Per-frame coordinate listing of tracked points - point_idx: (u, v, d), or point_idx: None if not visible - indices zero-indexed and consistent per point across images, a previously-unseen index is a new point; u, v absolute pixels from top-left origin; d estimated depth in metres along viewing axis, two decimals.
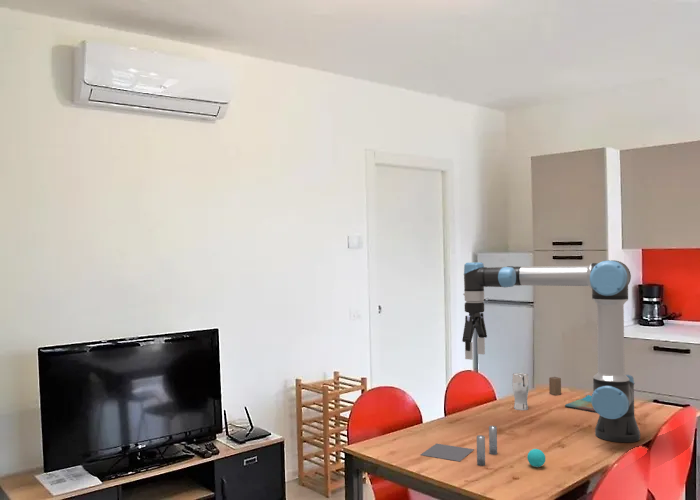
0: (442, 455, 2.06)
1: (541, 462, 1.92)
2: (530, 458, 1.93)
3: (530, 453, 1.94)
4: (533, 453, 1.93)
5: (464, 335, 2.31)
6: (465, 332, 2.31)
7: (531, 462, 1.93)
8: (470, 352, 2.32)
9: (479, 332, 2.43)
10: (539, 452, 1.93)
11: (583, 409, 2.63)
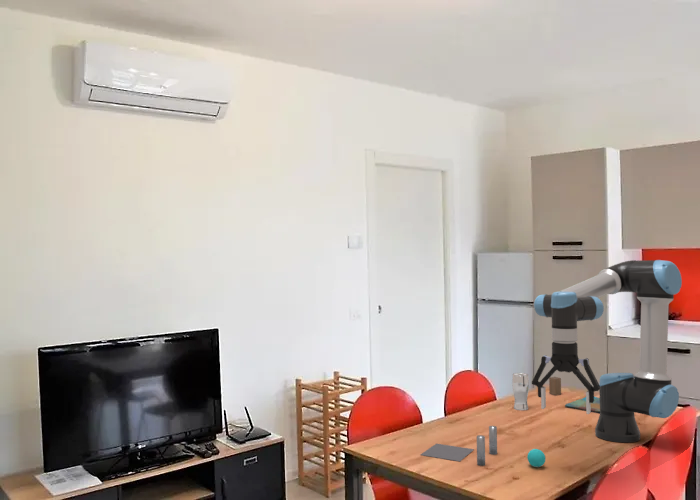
0: (442, 455, 2.06)
1: (541, 462, 1.92)
2: (530, 458, 1.93)
3: (530, 453, 1.94)
4: (533, 453, 1.93)
5: None
6: None
7: (531, 462, 1.93)
8: None
9: None
10: (539, 452, 1.93)
11: (583, 409, 2.63)
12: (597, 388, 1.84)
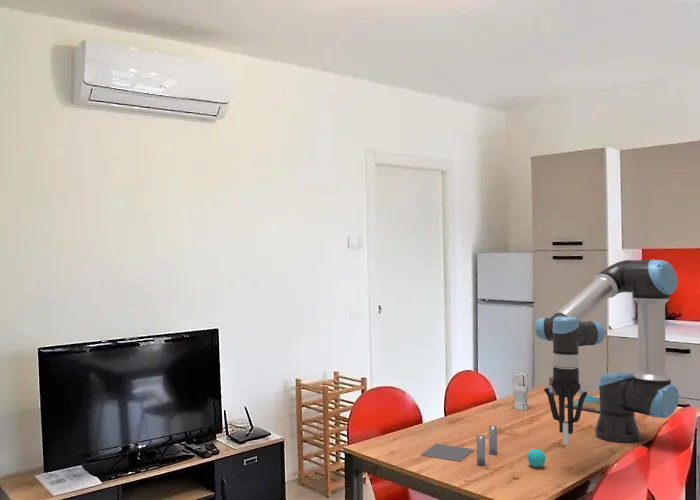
0: (442, 455, 2.06)
1: (541, 462, 1.92)
2: (530, 458, 1.93)
3: (530, 453, 1.94)
4: (533, 453, 1.93)
5: None
6: None
7: (531, 462, 1.93)
8: None
9: None
10: (539, 452, 1.93)
11: (583, 409, 2.63)
12: (576, 420, 1.87)
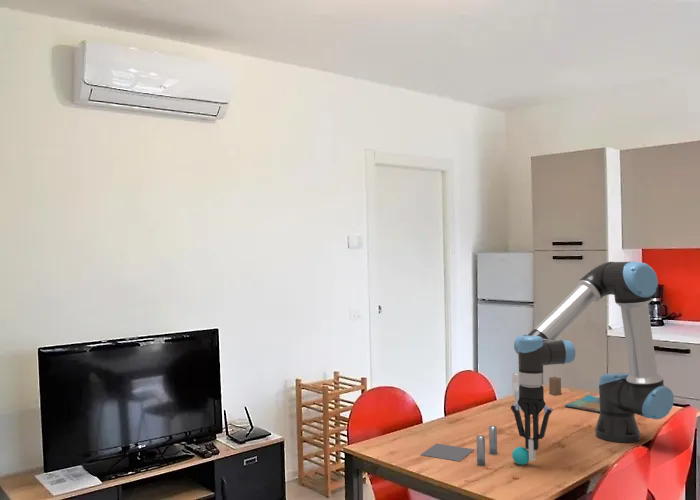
0: (442, 455, 2.06)
1: (522, 452, 1.95)
2: (517, 461, 1.95)
3: (514, 460, 1.96)
4: (513, 456, 1.96)
5: None
6: None
7: (522, 462, 1.94)
8: None
9: None
10: (514, 451, 1.97)
11: (583, 409, 2.63)
12: (541, 437, 1.92)
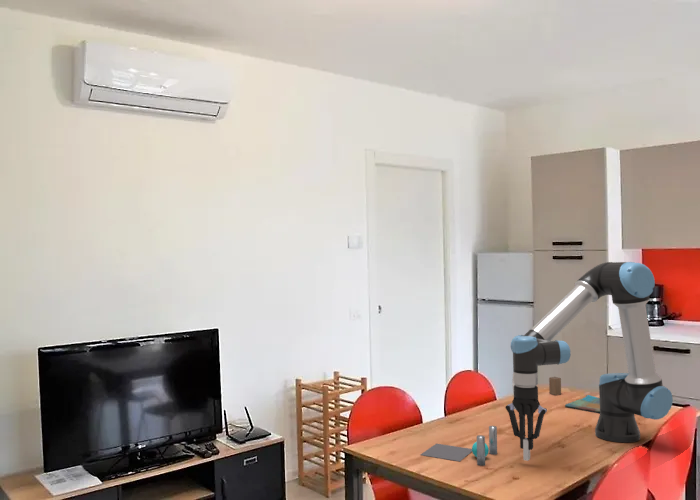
0: (442, 455, 2.06)
1: None
2: (474, 450, 2.02)
3: (474, 445, 2.03)
4: (476, 445, 2.02)
5: None
6: None
7: (475, 454, 2.02)
8: None
9: None
10: None
11: (583, 409, 2.63)
12: (535, 437, 1.93)
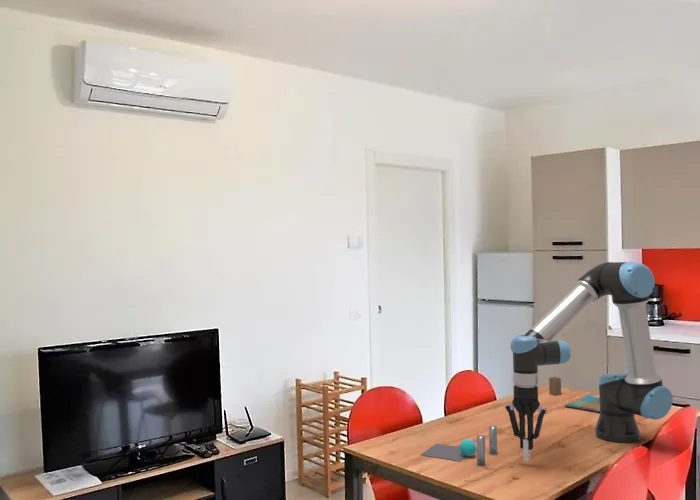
0: (442, 455, 2.06)
1: (467, 443, 2.04)
2: (465, 453, 2.04)
3: None
4: (460, 449, 2.05)
5: None
6: None
7: (468, 453, 2.03)
8: None
9: None
10: (460, 444, 2.06)
11: (583, 409, 2.63)
12: (535, 437, 1.93)
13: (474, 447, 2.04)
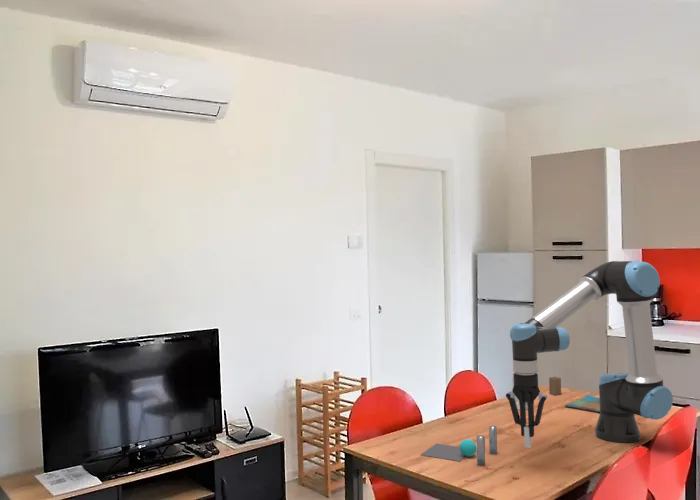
0: (442, 455, 2.06)
1: (467, 443, 2.04)
2: (465, 453, 2.04)
3: None
4: (460, 449, 2.05)
5: None
6: None
7: (468, 453, 2.03)
8: None
9: None
10: (460, 444, 2.06)
11: (583, 409, 2.63)
12: (536, 424, 1.94)
13: (474, 447, 2.04)
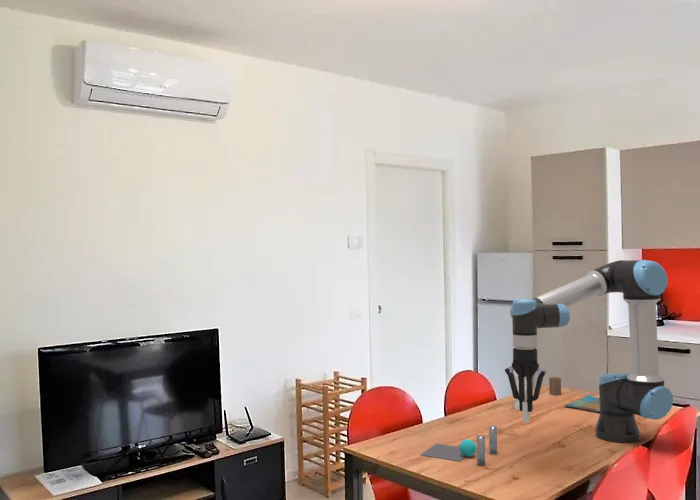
0: (442, 455, 2.06)
1: (467, 443, 2.04)
2: (465, 453, 2.04)
3: None
4: (460, 449, 2.05)
5: None
6: None
7: (468, 453, 2.03)
8: None
9: None
10: (460, 444, 2.06)
11: (583, 409, 2.63)
12: (535, 398, 1.94)
13: (474, 447, 2.04)
